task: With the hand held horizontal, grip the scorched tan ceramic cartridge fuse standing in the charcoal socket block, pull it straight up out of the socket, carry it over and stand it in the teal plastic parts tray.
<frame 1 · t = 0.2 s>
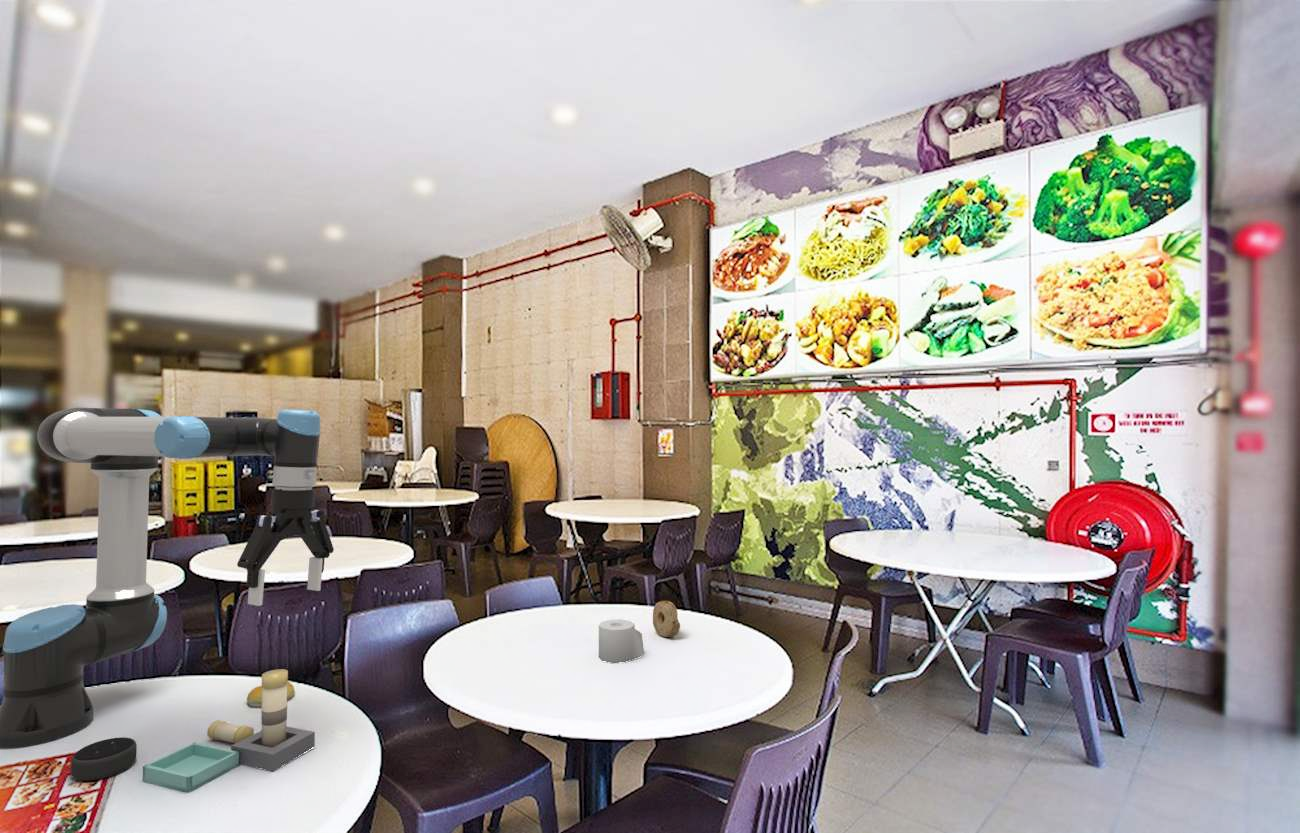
hand: (285, 597, 126), 27 cm above the table, tool pointing down, fingers open, 13 cm apart
toilet tissue: (621, 657, 172), on the table
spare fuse: (231, 740, 125), on the table, tilted 6°
parts tray: (191, 773, 113), on the table
socket block: (273, 754, 119), on the table
blown fuse: (273, 755, 119), resting in socket block
stone disc: (665, 636, 189), on the table
bread roll: (271, 701, 144), on the table
smart speaker: (104, 771, 114), on the table
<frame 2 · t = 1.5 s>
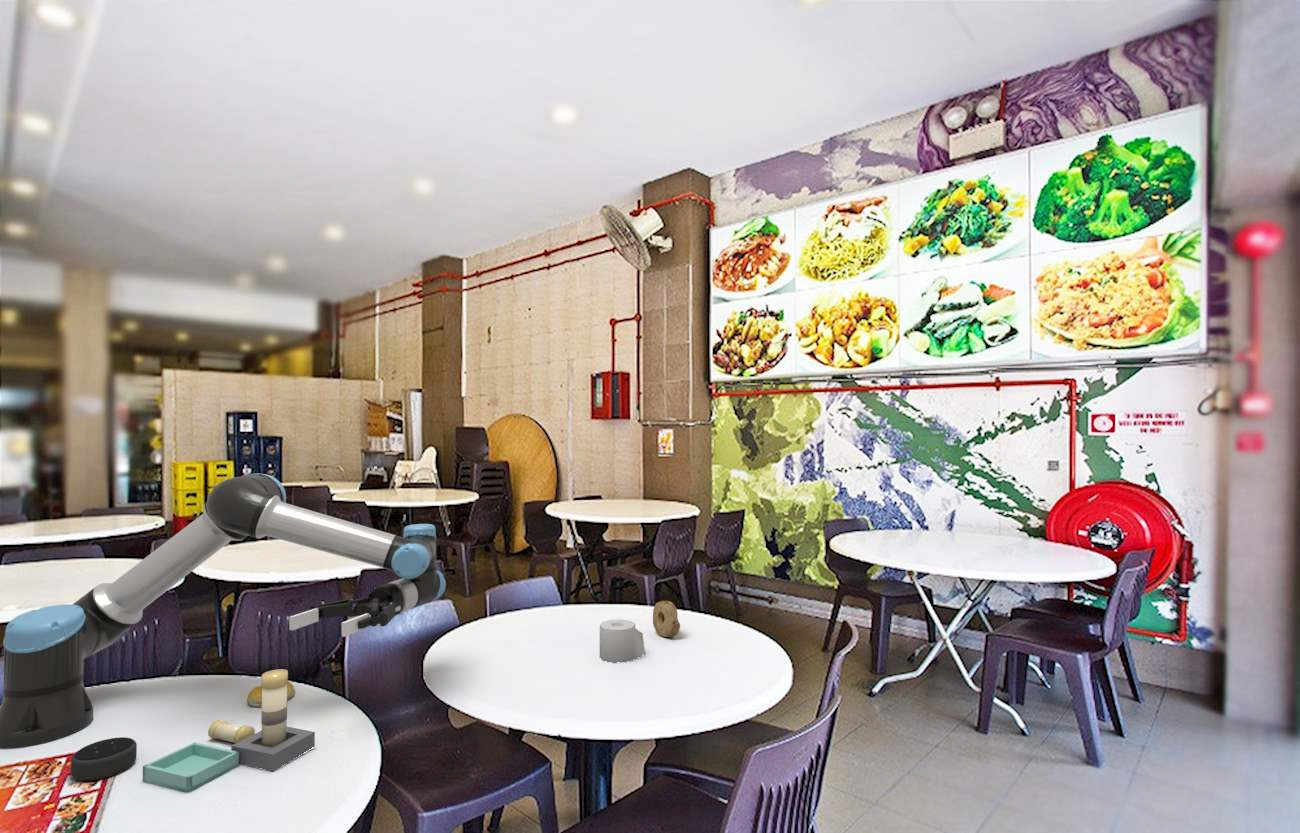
hand: (316, 626, 129), 21 cm above the table, tool horizontal, fingers open, 13 cm apart
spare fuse: (231, 740, 125), on the table
everything else where it was.
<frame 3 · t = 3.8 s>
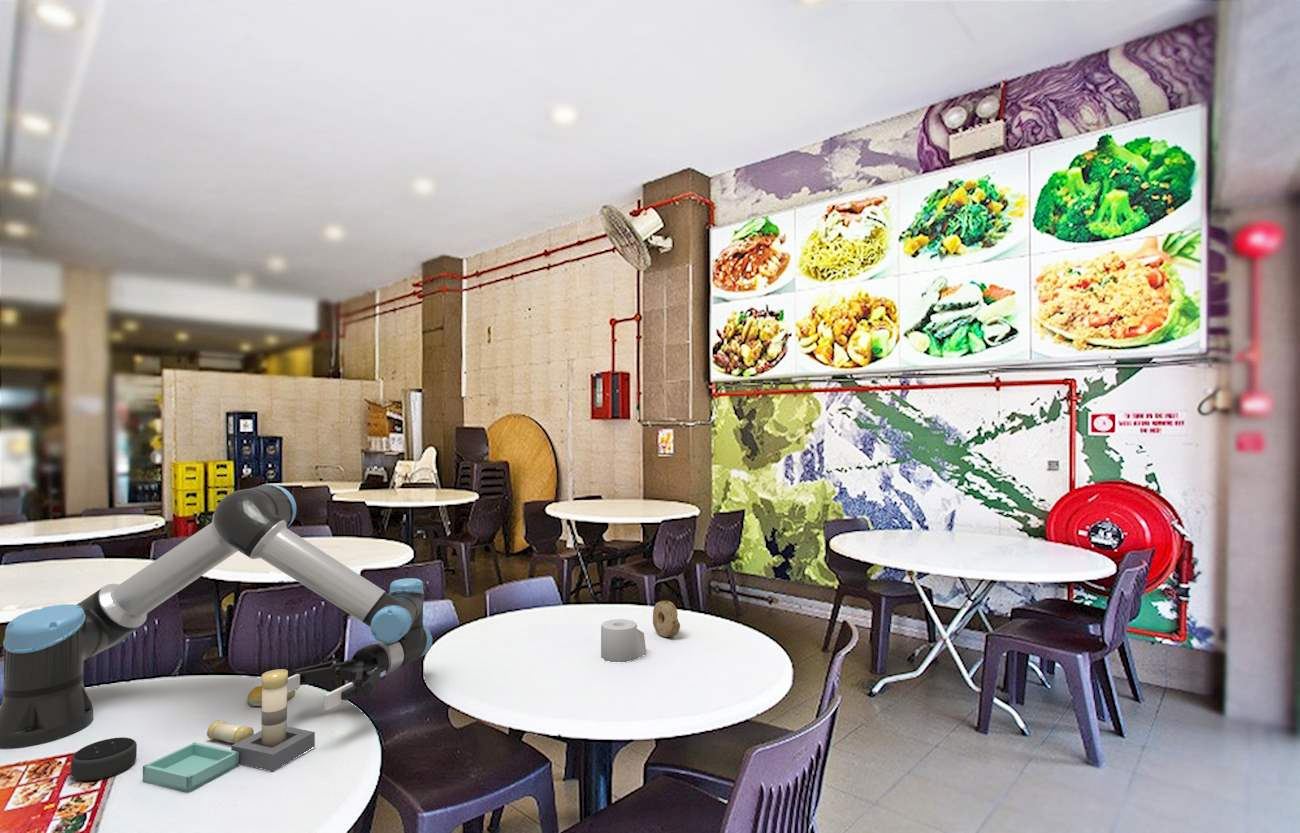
hand: (297, 697, 124), 9 cm above the table, tool horizontal, fingers open, 13 cm apart
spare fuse: (231, 740, 125), on the table, tilted 8°
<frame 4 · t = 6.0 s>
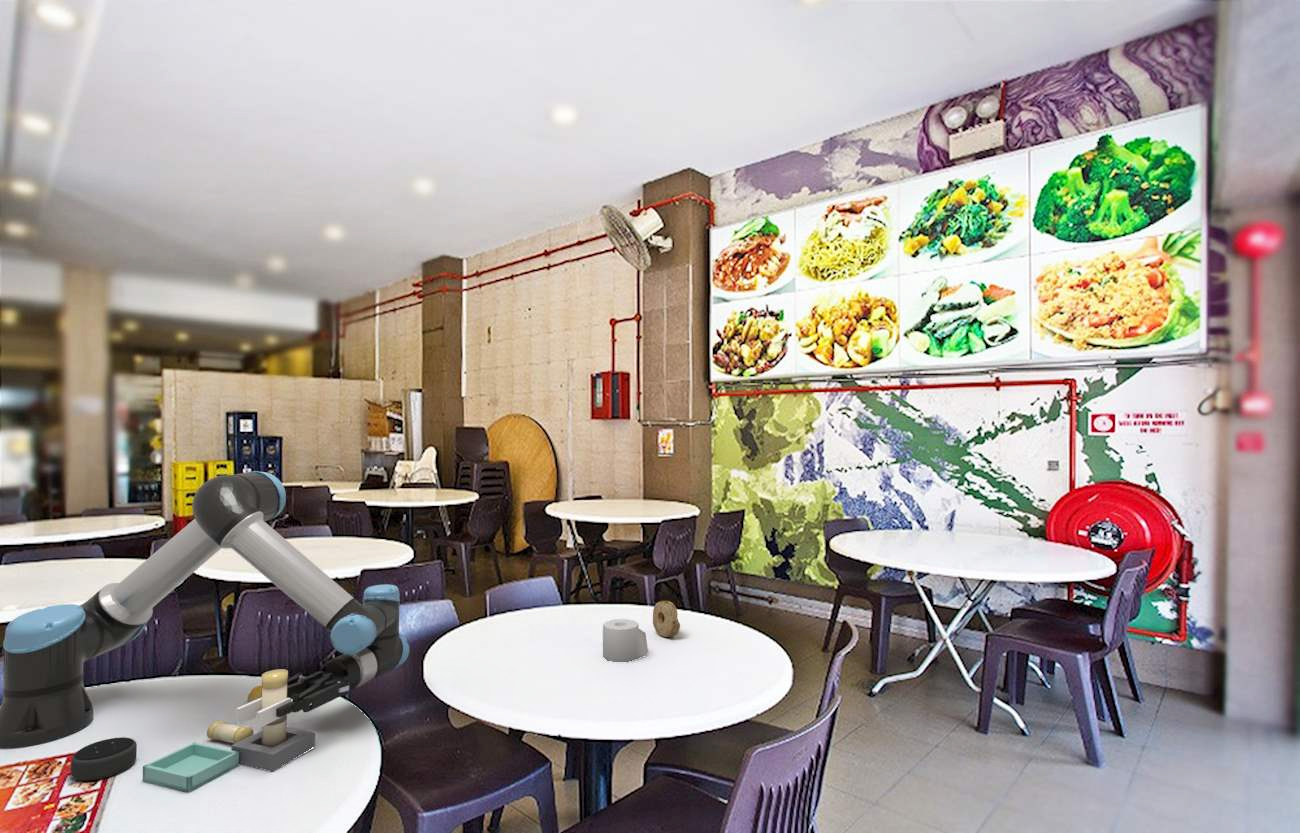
hand: (248, 718, 114), 9 cm above the table, tool horizontal, fingers closed on blown fuse, 4 cm apart
blown fuse: (273, 755, 119), resting in socket block, touching gripper
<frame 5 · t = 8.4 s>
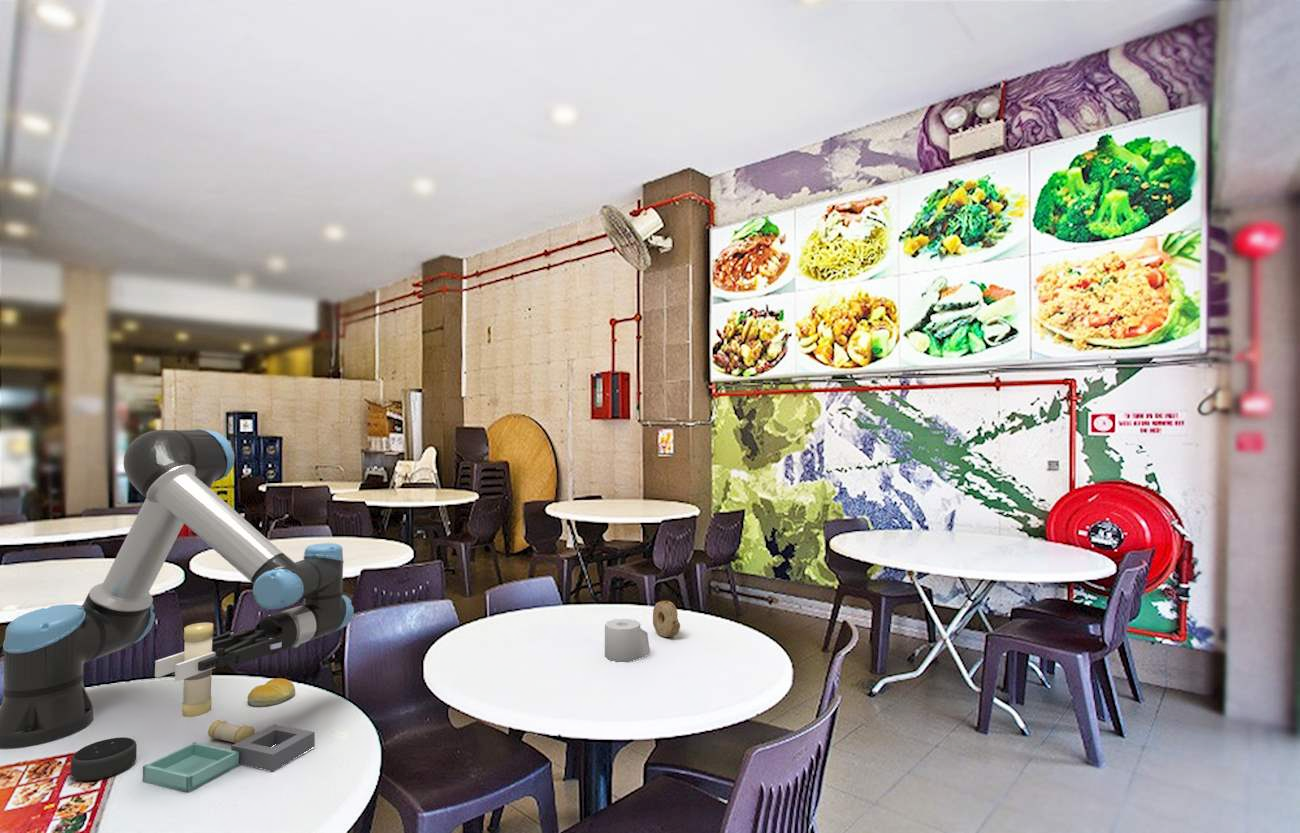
hand: (166, 670, 109), 20 cm above the table, tool horizontal, fingers closed on blown fuse, 4 cm apart
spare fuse: (231, 740, 125), on the table
blown fuse: (196, 711, 114), point 11 cm above the table, touching gripper
when the fingers open (11 cm above the table, at t = 10.9 s): blown fuse stays where it is, resting on parts tray.
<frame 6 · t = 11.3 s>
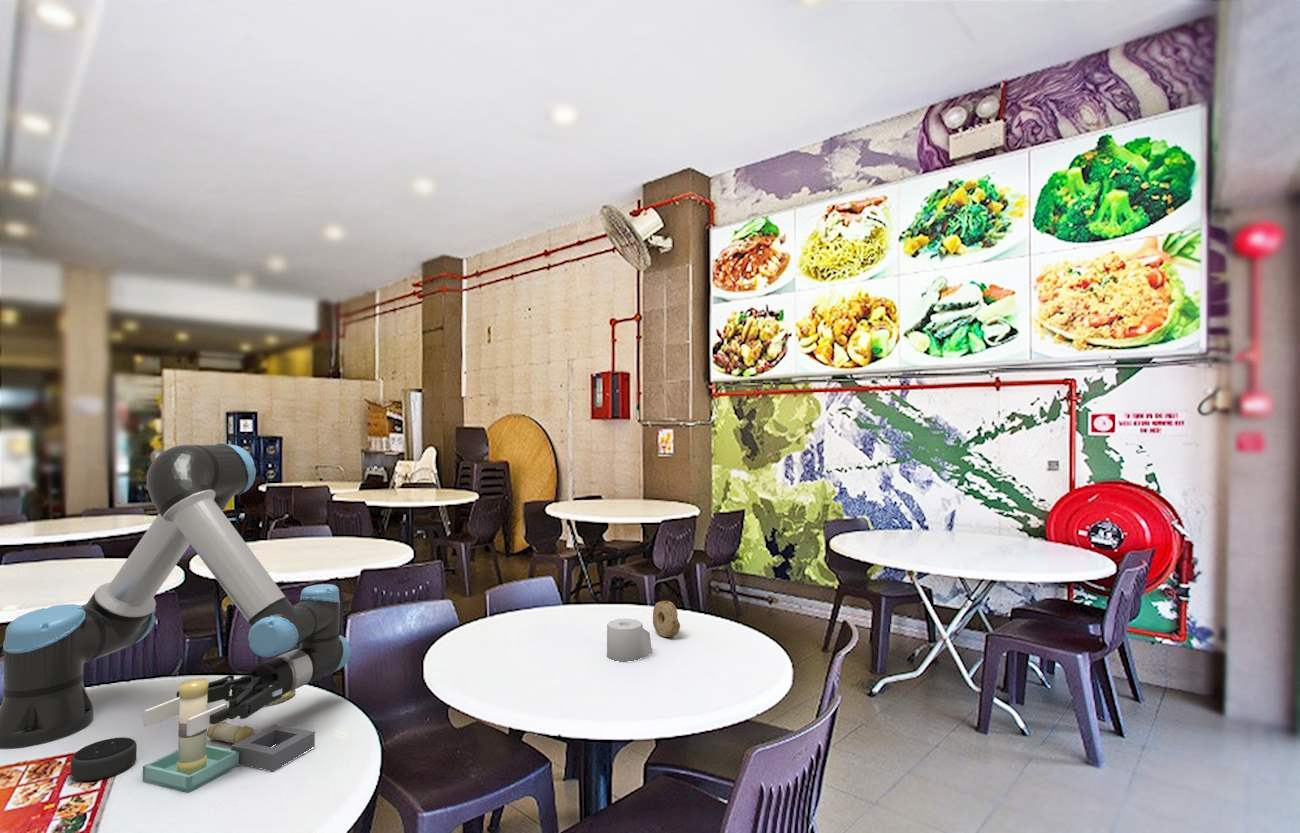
hand: (166, 723, 109), 11 cm above the table, tool horizontal, fingers open, 9 cm apart
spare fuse: (231, 740, 125), on the table, tilted 9°
blown fuse: (191, 769, 113), point 1 cm above the table, touching parts tray
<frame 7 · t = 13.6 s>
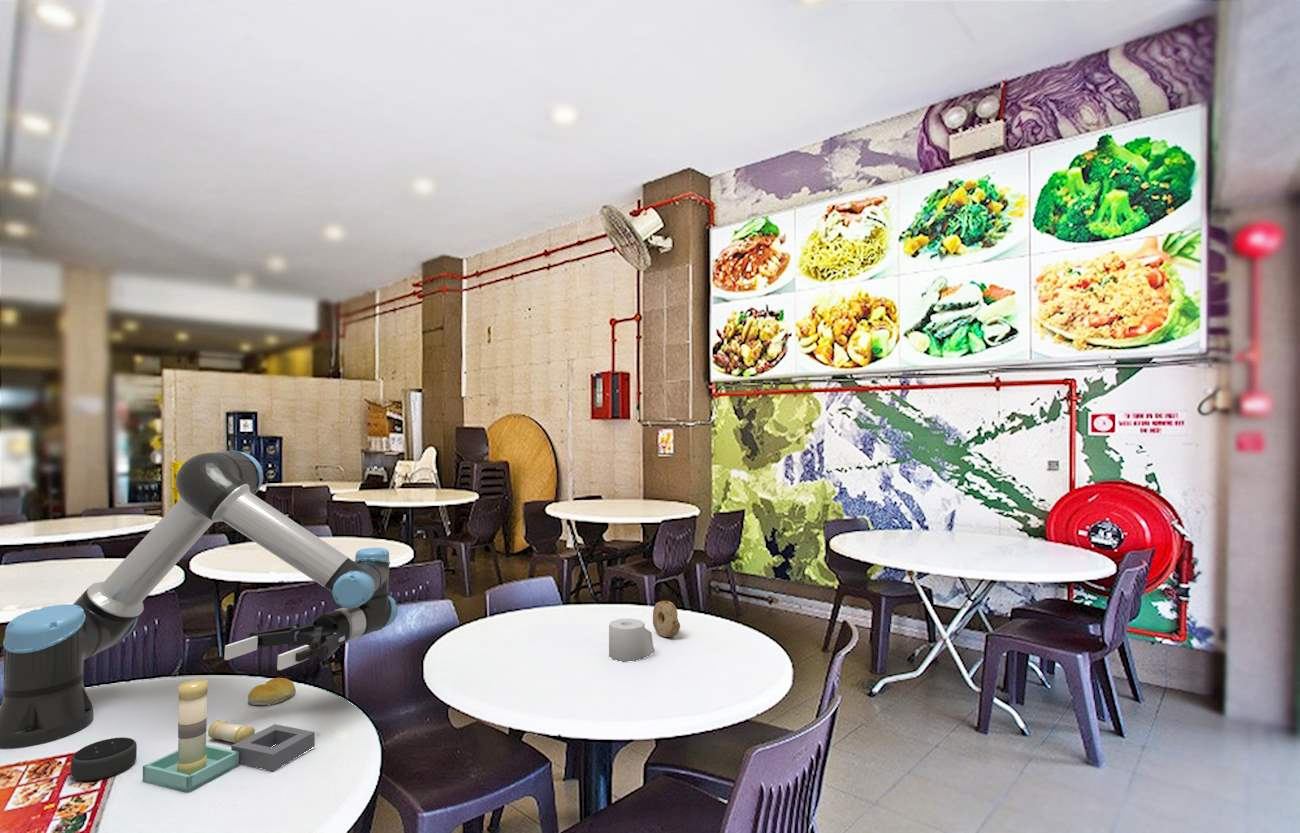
hand: (251, 657, 123), 17 cm above the table, tool horizontal, fingers open, 13 cm apart
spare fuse: (231, 740, 125), on the table
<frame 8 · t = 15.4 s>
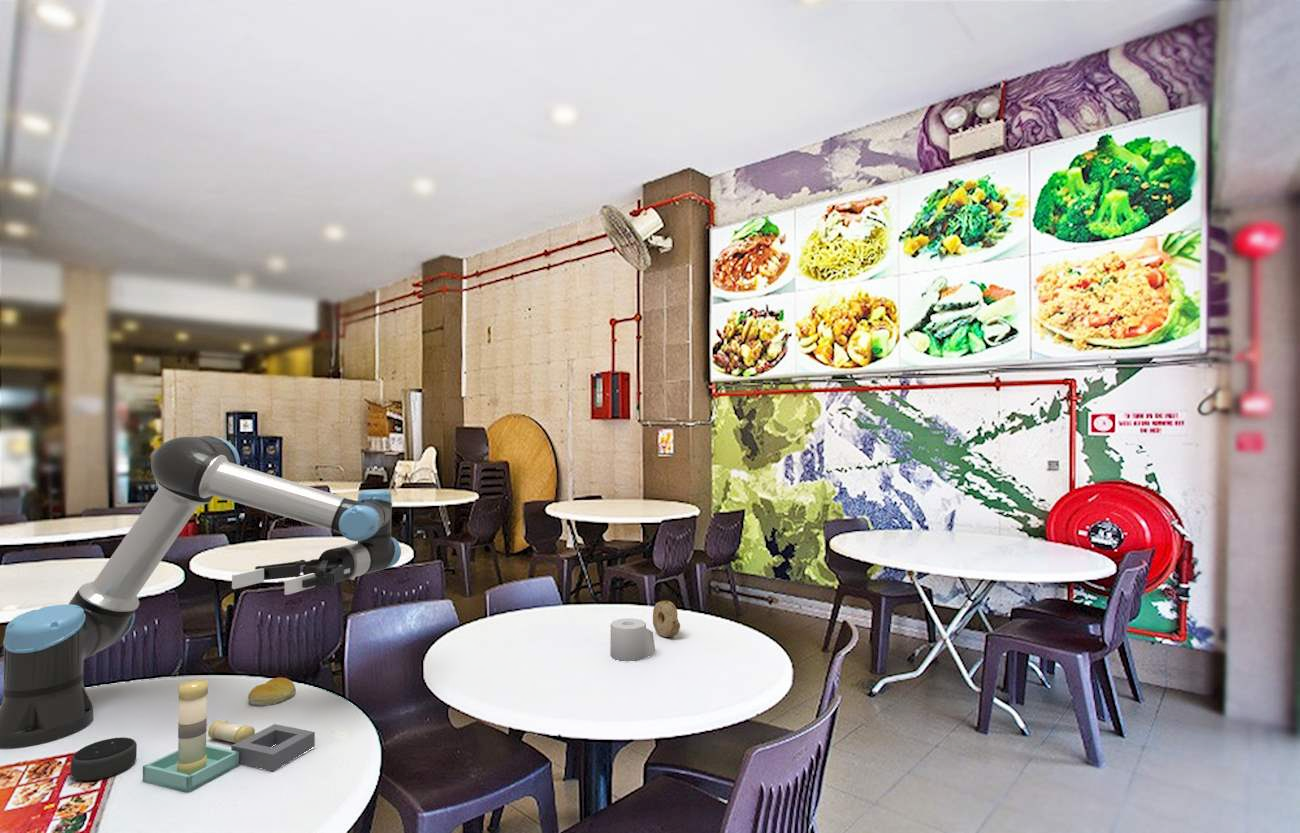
hand: (259, 584, 126), 30 cm above the table, tool horizontal, fingers open, 13 cm apart
at the end: blown fuse inside the target area on the parts tray (0.0 cm from its centre), point 0.6 cm above the parts tray's base; the gripper is holding nothing; blown fuse moved 12.4 cm from its start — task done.
